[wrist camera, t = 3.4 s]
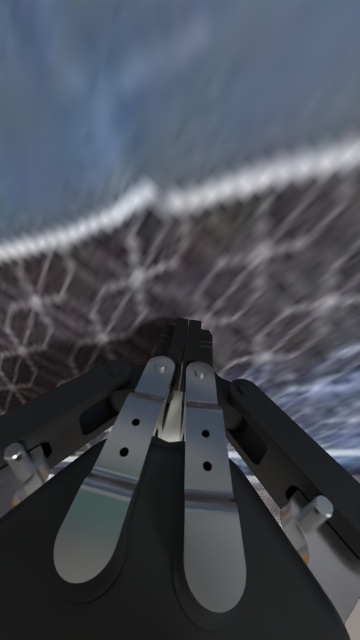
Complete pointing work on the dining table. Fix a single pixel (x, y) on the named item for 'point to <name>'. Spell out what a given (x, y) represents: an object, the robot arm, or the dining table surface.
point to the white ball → (174, 417)
